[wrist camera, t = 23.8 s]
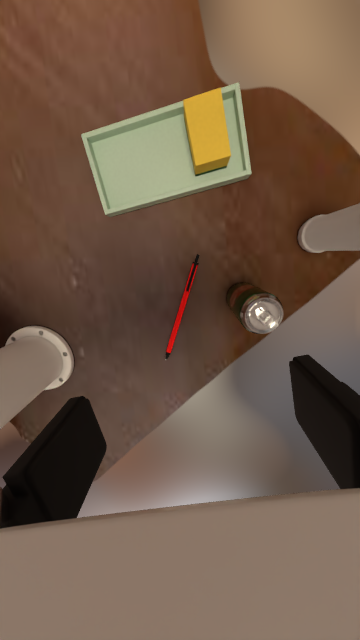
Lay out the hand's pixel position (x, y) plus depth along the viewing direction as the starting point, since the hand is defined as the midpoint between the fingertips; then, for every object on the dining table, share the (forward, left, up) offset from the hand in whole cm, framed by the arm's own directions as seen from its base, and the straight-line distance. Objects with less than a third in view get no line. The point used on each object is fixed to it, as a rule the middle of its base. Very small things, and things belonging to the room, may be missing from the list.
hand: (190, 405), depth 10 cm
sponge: (+6, +20, -28) cm, 35 cm away
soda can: (+8, -2, -28) cm, 30 cm away
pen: (-2, -2, -28) cm, 29 cm away
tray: (+1, +20, -28) cm, 35 cm away
